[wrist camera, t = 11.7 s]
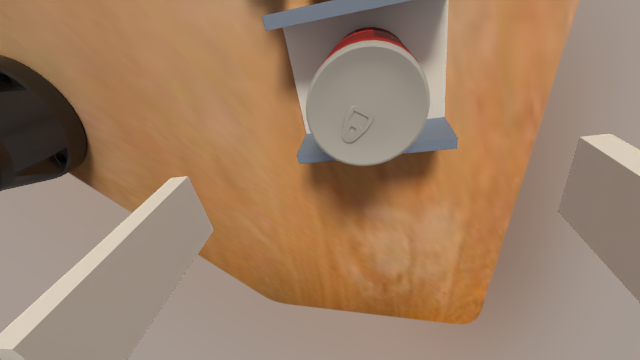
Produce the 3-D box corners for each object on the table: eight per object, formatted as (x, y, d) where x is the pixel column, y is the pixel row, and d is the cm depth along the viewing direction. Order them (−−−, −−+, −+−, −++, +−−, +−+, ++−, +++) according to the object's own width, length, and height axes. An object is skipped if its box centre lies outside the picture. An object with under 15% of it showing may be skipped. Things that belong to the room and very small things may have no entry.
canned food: (319, 106, 29) (297, 155, 20) (334, 17, 25) (314, 28, 16) (393, 121, 29) (405, 178, 20) (421, 34, 25) (453, 55, 16)
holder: (309, 140, 32) (299, 163, 28) (281, 13, 26) (261, 15, 21) (443, 124, 29) (456, 148, 24) (447, -24, 23) (467, -30, 18)
